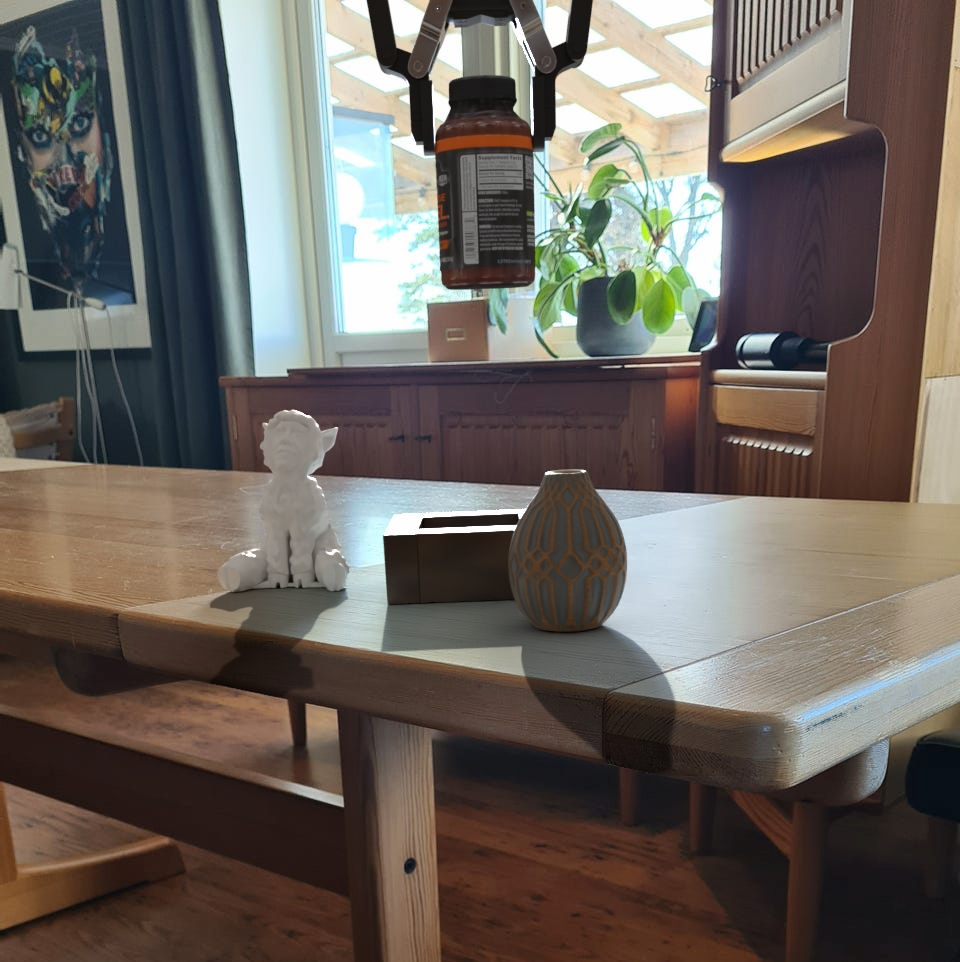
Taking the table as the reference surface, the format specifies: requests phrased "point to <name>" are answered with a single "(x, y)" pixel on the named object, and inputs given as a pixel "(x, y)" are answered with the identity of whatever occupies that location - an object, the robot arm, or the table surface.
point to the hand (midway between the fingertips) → (484, 151)
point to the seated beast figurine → (291, 515)
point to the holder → (449, 556)
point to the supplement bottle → (485, 187)
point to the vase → (567, 556)
